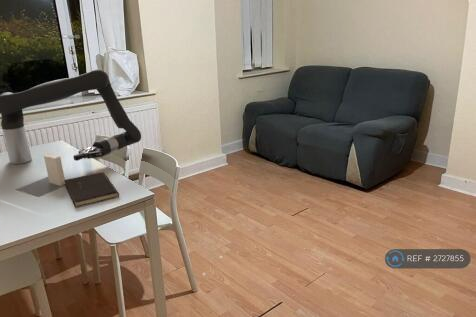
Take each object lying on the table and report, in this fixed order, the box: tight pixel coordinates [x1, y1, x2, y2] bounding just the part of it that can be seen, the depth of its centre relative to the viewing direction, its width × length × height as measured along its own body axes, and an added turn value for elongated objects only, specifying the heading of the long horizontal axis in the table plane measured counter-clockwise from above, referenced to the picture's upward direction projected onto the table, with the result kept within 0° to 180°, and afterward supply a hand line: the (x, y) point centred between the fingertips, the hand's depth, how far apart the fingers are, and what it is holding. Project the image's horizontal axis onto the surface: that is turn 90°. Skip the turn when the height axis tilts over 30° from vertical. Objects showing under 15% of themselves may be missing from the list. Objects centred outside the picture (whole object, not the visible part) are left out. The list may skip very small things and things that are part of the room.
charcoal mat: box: [15, 176, 66, 198], centre depth 156 cm, size 15×15×1 cm
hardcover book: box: [64, 171, 120, 208], centre depth 150 cm, size 16×23×2 cm
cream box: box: [43, 153, 66, 186], centre depth 156 cm, size 7×3×12 cm, turn 61°
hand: (74, 158), depth 164 cm, fingers closed
